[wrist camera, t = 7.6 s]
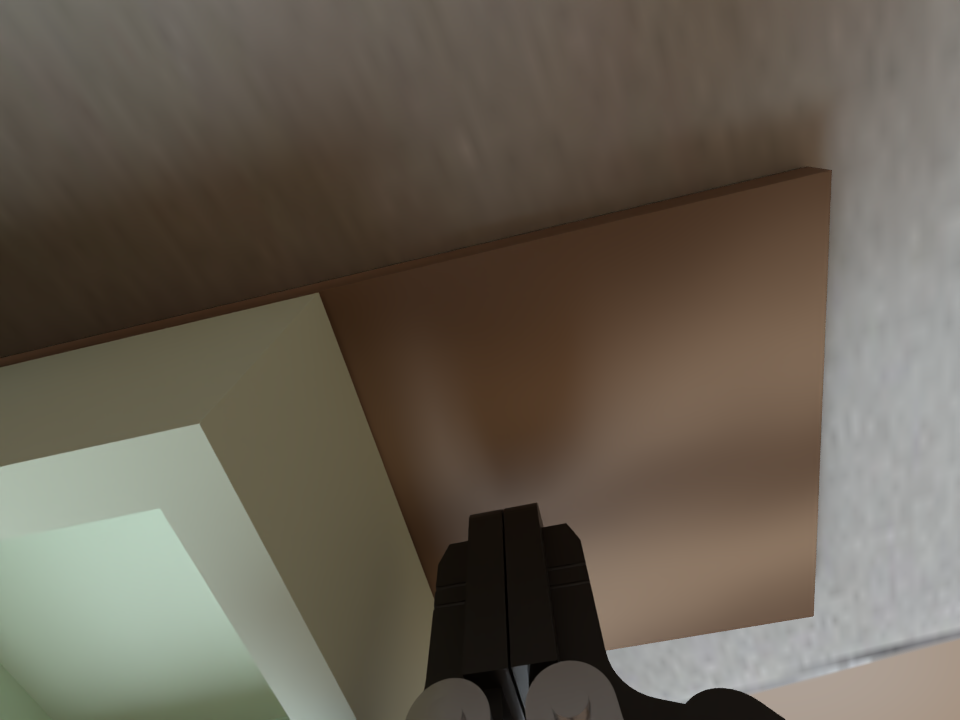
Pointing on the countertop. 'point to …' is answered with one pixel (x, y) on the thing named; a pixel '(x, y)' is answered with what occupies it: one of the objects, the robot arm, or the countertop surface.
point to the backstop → (609, 396)
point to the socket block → (203, 532)
